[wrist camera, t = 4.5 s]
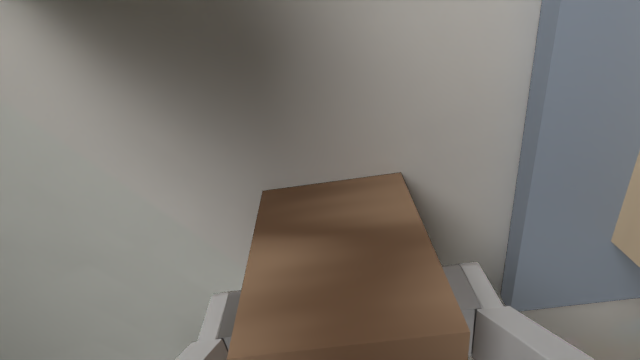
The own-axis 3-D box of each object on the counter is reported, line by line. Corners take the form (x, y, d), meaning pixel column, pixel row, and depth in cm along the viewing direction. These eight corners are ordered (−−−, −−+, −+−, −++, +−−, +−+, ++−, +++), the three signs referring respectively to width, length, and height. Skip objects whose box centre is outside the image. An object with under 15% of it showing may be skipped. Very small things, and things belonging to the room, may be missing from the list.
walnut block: (287, 288, 14) (274, 472, 9) (262, 190, 12) (226, 358, 7) (404, 274, 14) (459, 454, 9) (400, 172, 12) (470, 331, 7)
